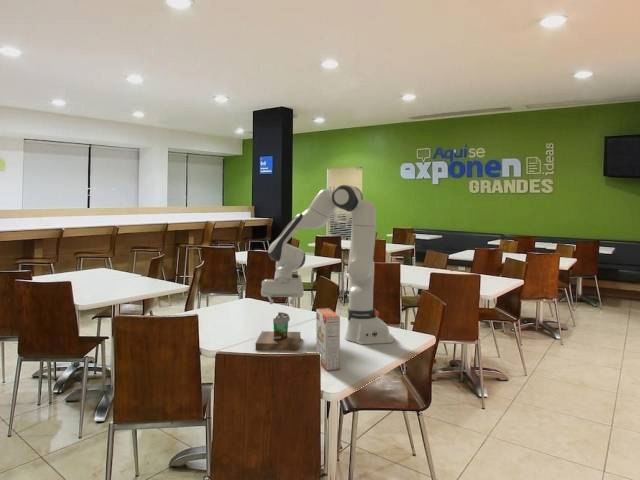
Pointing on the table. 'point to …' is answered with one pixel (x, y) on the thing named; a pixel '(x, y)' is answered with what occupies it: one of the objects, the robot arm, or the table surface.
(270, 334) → the walnut stand
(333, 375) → the table surface
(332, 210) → the robot arm
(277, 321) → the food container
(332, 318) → the cracker box
